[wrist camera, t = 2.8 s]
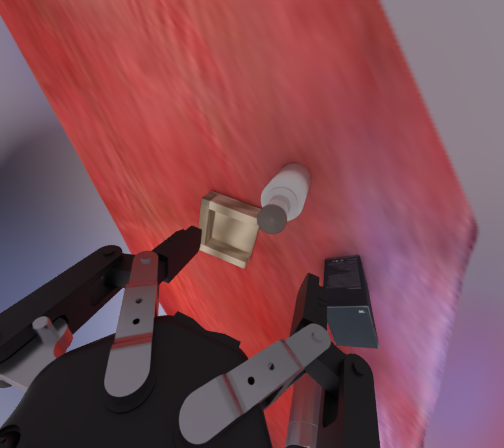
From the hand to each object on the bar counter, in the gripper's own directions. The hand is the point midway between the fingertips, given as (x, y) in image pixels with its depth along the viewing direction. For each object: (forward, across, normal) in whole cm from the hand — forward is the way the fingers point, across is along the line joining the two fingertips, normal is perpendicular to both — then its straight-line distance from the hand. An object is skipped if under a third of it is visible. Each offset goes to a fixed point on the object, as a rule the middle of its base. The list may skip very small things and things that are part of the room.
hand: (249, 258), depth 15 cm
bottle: (+20, 0, 0) cm, 20 cm away
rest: (+20, +8, +12) cm, 25 cm away
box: (+20, -14, +13) cm, 28 cm away
